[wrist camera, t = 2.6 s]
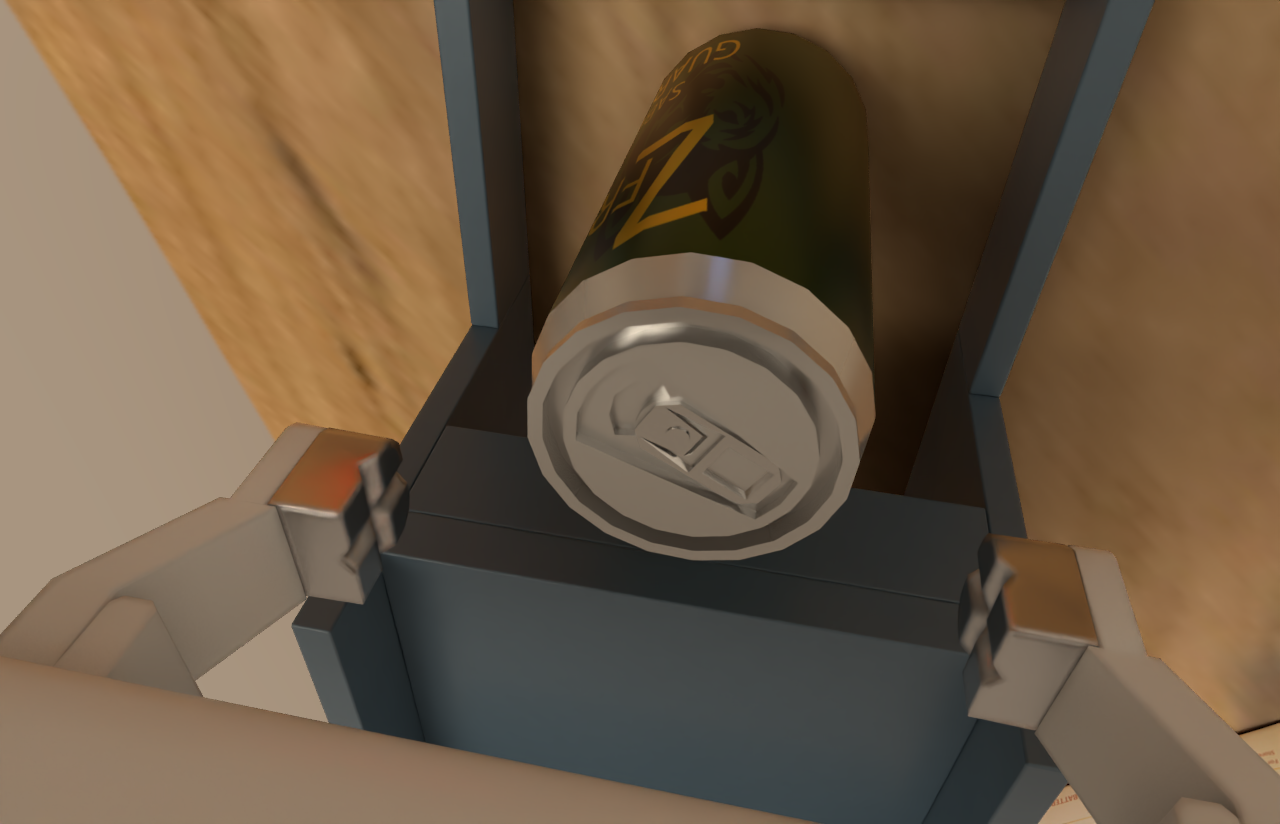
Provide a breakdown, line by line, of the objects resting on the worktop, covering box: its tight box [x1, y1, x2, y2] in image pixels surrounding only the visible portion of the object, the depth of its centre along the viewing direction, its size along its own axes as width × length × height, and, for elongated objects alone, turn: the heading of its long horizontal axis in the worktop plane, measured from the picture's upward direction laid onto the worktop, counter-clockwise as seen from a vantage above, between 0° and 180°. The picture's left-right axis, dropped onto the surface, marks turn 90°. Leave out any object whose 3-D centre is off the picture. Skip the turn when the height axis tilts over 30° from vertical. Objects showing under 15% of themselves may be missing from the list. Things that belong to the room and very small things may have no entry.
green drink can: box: [527, 28, 876, 560], centre depth 17 cm, size 5×5×12 cm
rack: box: [292, 0, 1155, 824], centre depth 20 cm, size 20×14×14 cm
